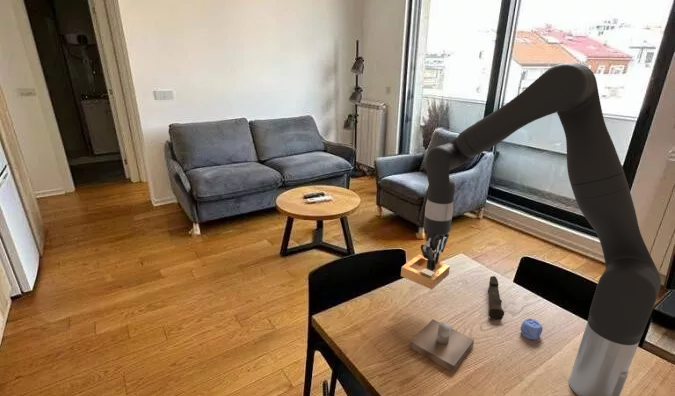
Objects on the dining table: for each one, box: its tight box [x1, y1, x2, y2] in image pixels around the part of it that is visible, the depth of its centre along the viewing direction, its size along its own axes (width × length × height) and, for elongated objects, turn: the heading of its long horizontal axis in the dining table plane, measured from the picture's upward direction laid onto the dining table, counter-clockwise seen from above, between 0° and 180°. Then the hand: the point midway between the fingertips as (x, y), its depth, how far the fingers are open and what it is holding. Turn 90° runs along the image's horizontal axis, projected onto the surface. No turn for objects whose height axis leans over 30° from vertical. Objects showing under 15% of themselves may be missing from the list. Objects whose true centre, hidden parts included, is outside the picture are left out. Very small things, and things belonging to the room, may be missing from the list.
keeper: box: [409, 318, 475, 373], centre depth 96 cm, size 12×12×7 cm
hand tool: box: [487, 275, 505, 321], centre depth 115 cm, size 19×4×5 cm, turn 160°
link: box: [400, 254, 451, 290], centre depth 106 cm, size 10×10×3 cm
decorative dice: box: [520, 318, 543, 341], centre depth 101 cm, size 4×4×4 cm
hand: (432, 267), depth 110 cm, fingers closed on link, 1 cm apart
